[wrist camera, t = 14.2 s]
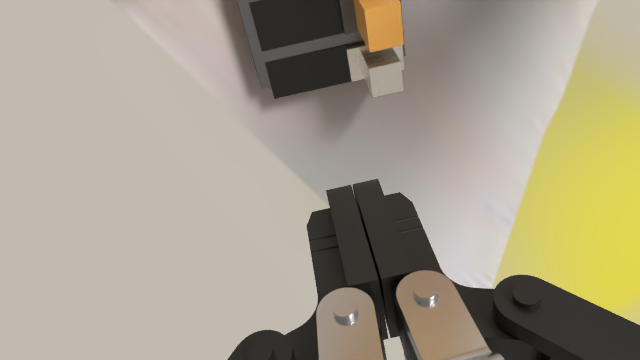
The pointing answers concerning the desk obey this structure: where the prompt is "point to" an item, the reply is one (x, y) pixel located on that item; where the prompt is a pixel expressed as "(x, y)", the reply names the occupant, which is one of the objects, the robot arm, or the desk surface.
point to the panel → (314, 48)
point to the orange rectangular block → (374, 22)
